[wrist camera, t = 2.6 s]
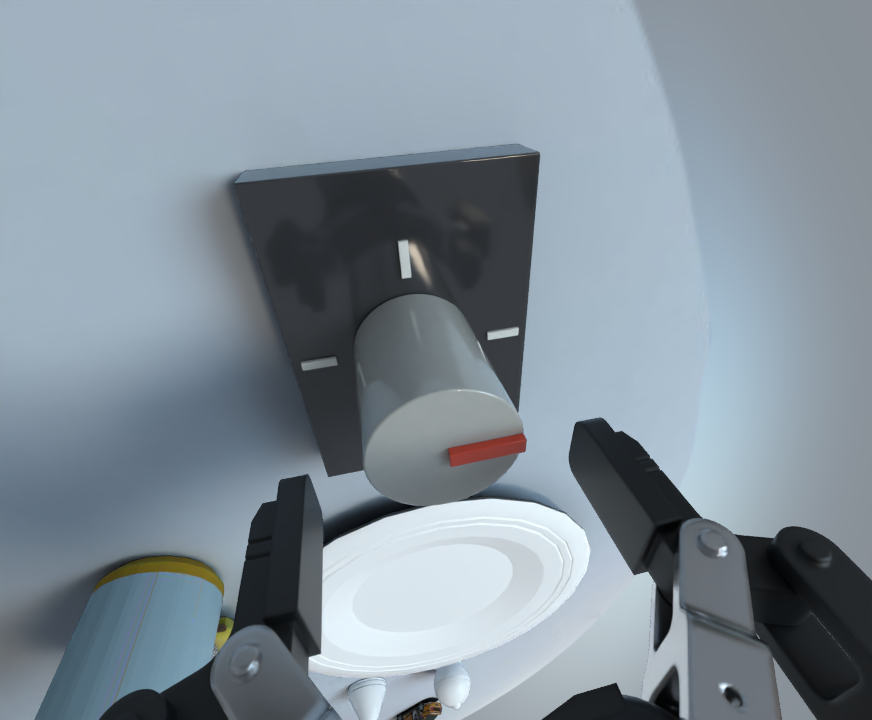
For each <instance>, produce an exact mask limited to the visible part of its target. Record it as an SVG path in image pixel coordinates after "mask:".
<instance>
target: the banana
mask: <svg viewBox="0 0 872 720" xmlns="http://www.w3.org/2000/svg"><path fill="white" fill-rule="evenodd" d="M233 623H234V621H233V620H232V619H230V618H228V617H223V618H220V619H219V623H218V628H217V633H216V638H215V643H214V644H215V645H216V647H217V648H218V650H220V648H221V647H222V646H223V645H224V643H225V642H226V641H227V639H228V637H229V635H230V633H231V630H232V628H233Z"/></svg>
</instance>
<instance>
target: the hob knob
mask: <svg viewBox="0 0 872 720" xmlns="http://www.w3.org/2000/svg"><path fill="white" fill-rule="evenodd" d="M353 354H354V366H355V377H356V389H357V401H358V412H359V424H360V436H361V447H362V459H363V467H364V471H365V474H366V477H367V478H368V480H369V482H370V483H371V484H372V486H373V487H374V488H375V489H376V490H377V491H378V492H380V493H381V494H382V495H384V496H386V497H387V498H389V499H392V500H394V501H397V502H400V503H404V504H409V505H417V506H433V505H442V504H447V503H452V502H456V501H459V500H462V499H465V498H468V497H470V496H472V495H475V494H477V493H479V492H480V491H482V490H484V489H486V488H487V487H489V486H490V485H492V484H493V483H495V482H496V481H497V480H498V479H500V478H501V477H502V476H503V475H504V474H505V473H506V472H507V471H508V470H509V468H510V467H511V466H512V465H513V463H514V462H515V460H516V458H517V457H518V455H519V453H522V452H525V451H526V441H527V439H526V438H525V436H524V434H523V424H522V421H521V418H520V416H519V414H518V412H517V410H516V408H515V407H514V405H513V403H512V401H511V399H510V397H509V396H508V394H507V392H506V390H505V388H504V387H503V385H502V383H501V381H500V379H499V377H498V376H497V374H496V372H495V370H494V368H493V366H492V365H491V363H490V361H489V359H488V357H487V356H486V354H485V352H484V350H483V348H482V346H481V345H480V343H479V341H478V339H477V337H476V336H475V334H474V332H473V330H472V328H471V326H470V325H469V323H468V321H467V319H466V318H465V316H464V315H463V313H462V312H461V311H460V310H459V309H458V308H457V307H456V306H455V305H453V304H452V303H450V302H448V301H447V300H444V299H442V298H439V297H436V296H432V295H426V294H411V295H404V296H400V297H397V298H394V299H391V300H389V301H387V302H385V303H383V304H382V305H380V306H378V307H377V308H376V309H374V310H373V311H372V312H371V313H370V314H369V315H368V316H367V317H366V318H365V320H364V321H363V322H362V324H361V325H360V327H359V329H358V331H357V333H356V336H355V340H354V346H353Z"/></svg>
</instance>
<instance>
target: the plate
mask: <svg viewBox="0 0 872 720" xmlns="http://www.w3.org/2000/svg"><path fill="white" fill-rule="evenodd" d="M590 551H591V550H590V547H589V544H588V541H587V538H586V535H585V532H584V530H583V528H582V527H580V526H579V525H578V524H577V523H576V522H575V521H574V520H573V519H572V518H571V517H569V516H568V515H567V514H566V513H565V512H563V511H560V510H558V509H555V508H552V507H549V506H547V505H544V504H541V503H539V502H536V501H533V500H523V499H513V498H503V497H492V496H487V497H476V498H465V499H462V500H459V501H456V502H452V503H447V504H442V505H433V506H417V507H413V508H409V509H406V510H402V511H398V512H394V513H390V514H386V515H384V516H382V517H379V518H377V519H375V520H373V521H370V522H368V523H366V524H364V525H361V526H359V527H357V528H354V529H352V530H350V531H348V532H345V533H343V534H341V535H338V536H336V537H335V538H333V539H332V540H330V541H329V542H328V543H326V544H325V545H323V574H322V637H321V654H319V655H315V656H311V657H309V667H308V671H310V672H315V673H320V674H325V675H330V676H335V677H352V678H376V677H387V676H398V675H406V674H411V673H416V672H421V671H426V670H431V669H436V668H440V667H443V666H446V665H450V664H453V663H456V662H460V661H463V660H466V659H470V658H472V657H474V656H477V655H479V654H482V653H484V652H487V651H489V650H492V649H494V648H496V647H499V646H501V645H503V644H505V643H507V642H509V641H510V640H512V639H514V638H516V637H518V636H520V635H522V634H523V633H525V632H527V631H529V630H530V629H532V628H533V627H535V626H536V625H537V624H539V623H540V622H542V621H543V620H544V619H546V618H547V617H549V616H550V615H551V614H553V613H554V612H555V611H556V610H557V609H558V608H559V607H560V606H561V605H562V604H563V603H564V602H565V601H566V600H567V599H568V598H569V597H570V596H571V595H572V594H573V592H574V591H575V589H576V588H577V586H578V584H579V583H580V581H581V579H582V578H583V576H584V575H585V573H586V571H587V566H588V561H589V556H590Z"/></svg>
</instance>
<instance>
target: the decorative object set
mask: <svg viewBox="0 0 872 720" xmlns="http://www.w3.org/2000/svg"><path fill="white" fill-rule="evenodd" d="M435 672H436V674H435V677H434V690H435V694H436V696H437V698H438V699H439V701H440V702H441V703H442V704H443V705H445V706H447V707H451V708H453V709H454V710H458V709H460V706H461V705H462V704H463V703H464V702H465V701H466V699H467V698H468V695H469V693H470V685H471V683H470V677H469V674H468V672H467V670H466V668H465V667H464V666H463V665H462V661H460V662H456V663H453V664H450V665H446V666H443V667H440V668H436V669H435ZM385 693H386V682H385V680H384V679H382V678H368V679H364V680H361V681H358V682H356V683H354V684H353V685H351V686H350V687H349V700H350V702H351V704H352V706H353V708H354V710H355V712H356V714H357V716H358V718H359V720H378V717H379V714H380V710H381V707H382V704H383V700H384V697H385Z"/></svg>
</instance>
